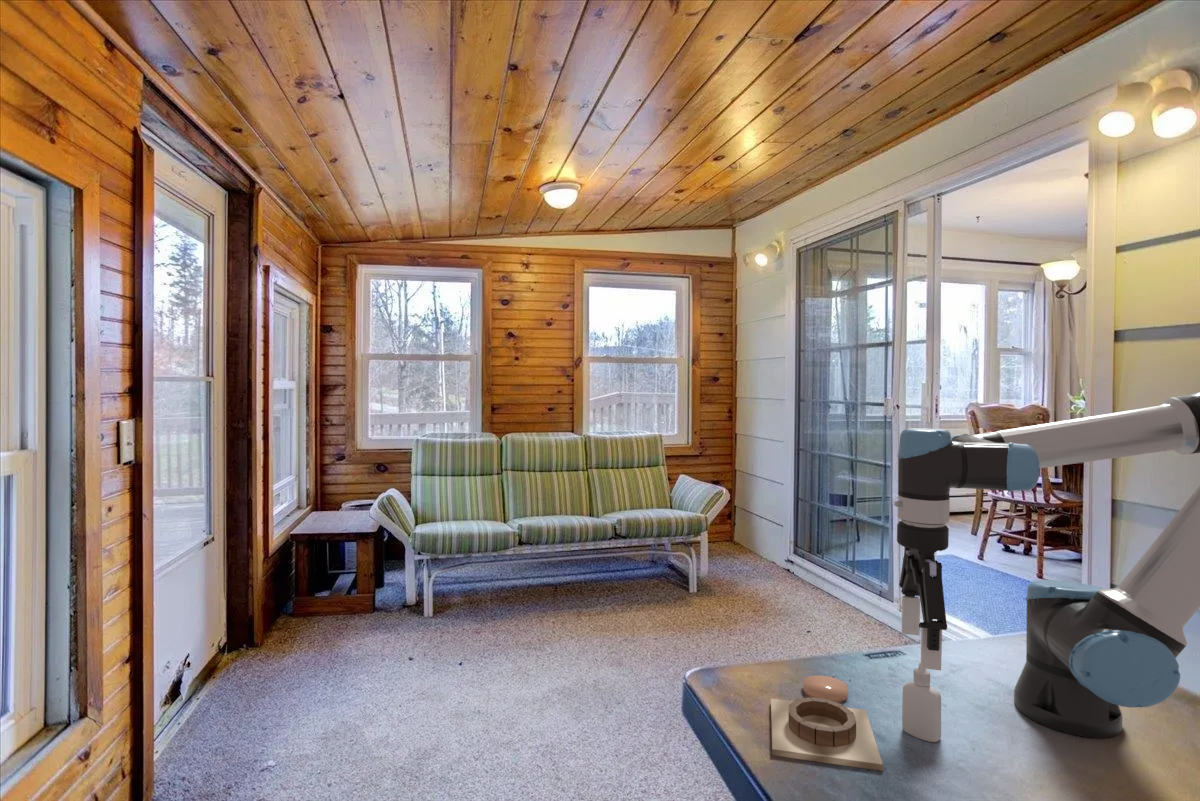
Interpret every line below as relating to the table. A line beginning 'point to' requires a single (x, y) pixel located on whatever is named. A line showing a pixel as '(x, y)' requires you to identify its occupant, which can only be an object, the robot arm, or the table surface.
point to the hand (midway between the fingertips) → (919, 650)
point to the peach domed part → (825, 688)
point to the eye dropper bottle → (921, 707)
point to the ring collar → (823, 733)
